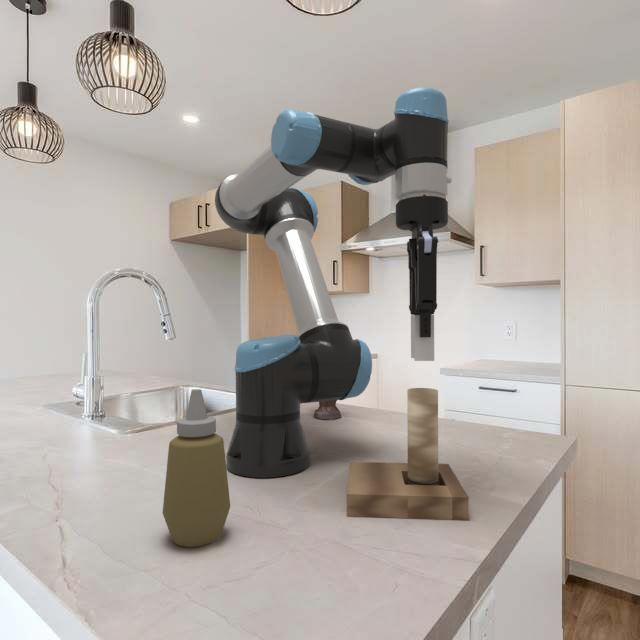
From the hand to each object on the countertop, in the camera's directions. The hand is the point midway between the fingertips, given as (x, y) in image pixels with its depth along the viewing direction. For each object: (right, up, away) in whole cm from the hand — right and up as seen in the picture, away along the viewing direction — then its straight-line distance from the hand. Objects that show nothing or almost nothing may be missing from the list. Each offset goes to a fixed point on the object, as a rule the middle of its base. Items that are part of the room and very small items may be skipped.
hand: (422, 358), depth 68 cm
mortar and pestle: (-14, -21, +58) cm, 63 cm away
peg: (0, -21, 0) cm, 21 cm away
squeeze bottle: (-30, -21, -11) cm, 38 cm away
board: (-3, -21, 0) cm, 21 cm away
